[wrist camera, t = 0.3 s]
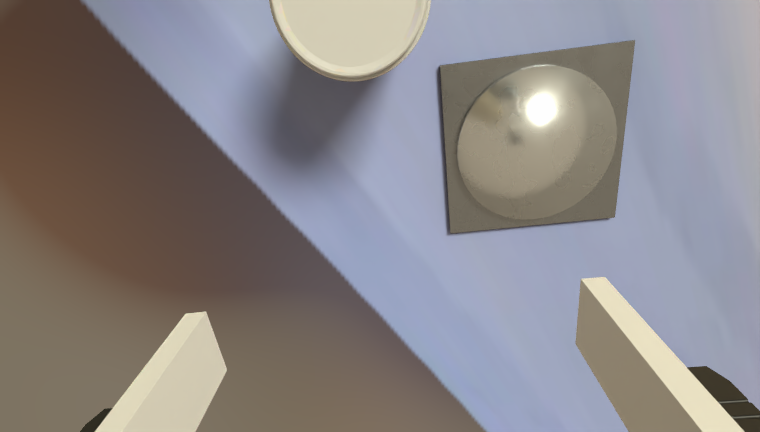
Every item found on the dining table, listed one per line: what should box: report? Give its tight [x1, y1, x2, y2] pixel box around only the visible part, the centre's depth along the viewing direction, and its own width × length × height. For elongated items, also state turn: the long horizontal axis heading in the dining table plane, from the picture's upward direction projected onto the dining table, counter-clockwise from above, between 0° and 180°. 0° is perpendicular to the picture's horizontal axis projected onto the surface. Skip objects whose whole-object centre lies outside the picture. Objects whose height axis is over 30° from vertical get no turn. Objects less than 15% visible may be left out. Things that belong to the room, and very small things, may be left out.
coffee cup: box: [269, 0, 431, 81], centre depth 28 cm, size 9×9×12 cm
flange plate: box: [440, 40, 635, 233], centre depth 36 cm, size 16×16×1 cm
